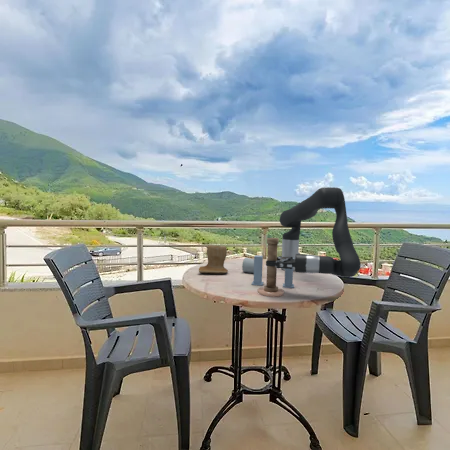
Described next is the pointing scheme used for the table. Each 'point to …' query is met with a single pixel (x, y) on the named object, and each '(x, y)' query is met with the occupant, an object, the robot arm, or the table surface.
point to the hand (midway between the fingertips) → (267, 261)
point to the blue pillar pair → (258, 273)
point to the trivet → (270, 294)
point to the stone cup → (215, 260)
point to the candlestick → (271, 269)
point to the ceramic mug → (248, 265)
